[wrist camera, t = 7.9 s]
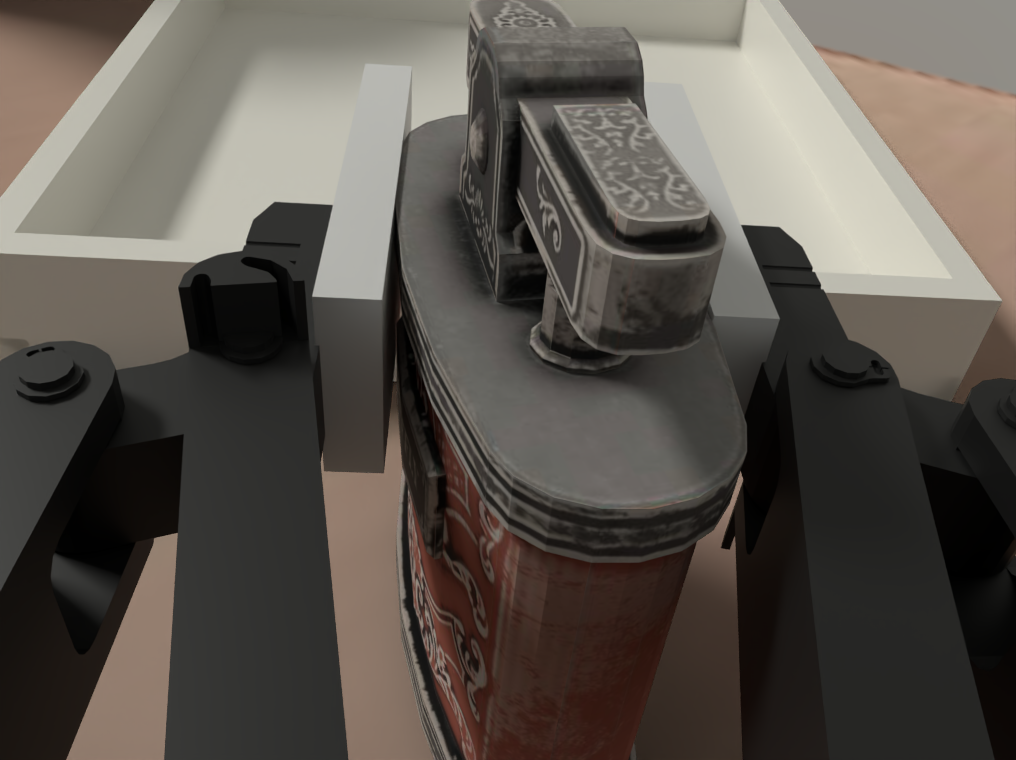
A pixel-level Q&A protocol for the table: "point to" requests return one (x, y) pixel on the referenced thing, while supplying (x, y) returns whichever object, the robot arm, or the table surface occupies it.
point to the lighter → (551, 394)
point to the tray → (436, 94)
